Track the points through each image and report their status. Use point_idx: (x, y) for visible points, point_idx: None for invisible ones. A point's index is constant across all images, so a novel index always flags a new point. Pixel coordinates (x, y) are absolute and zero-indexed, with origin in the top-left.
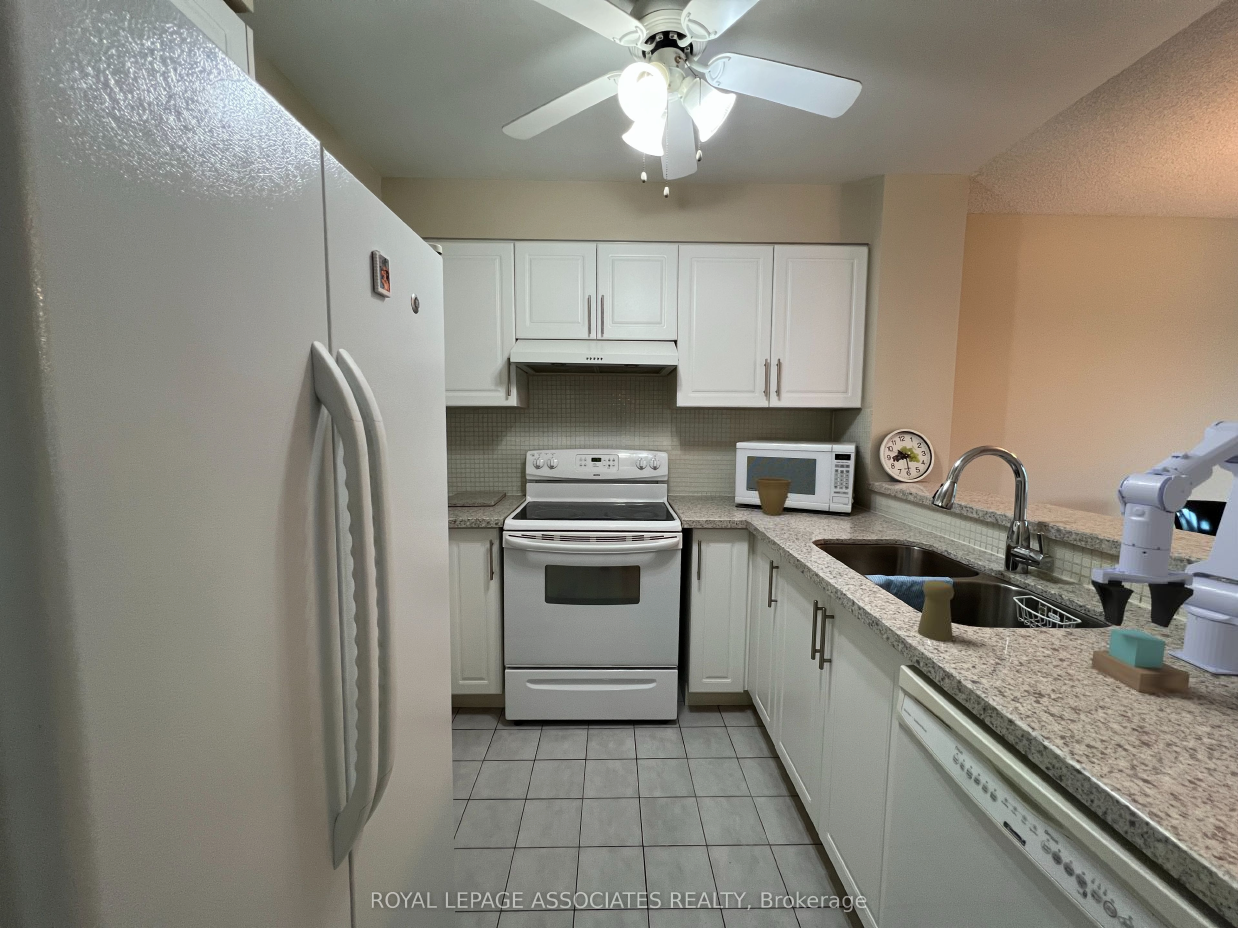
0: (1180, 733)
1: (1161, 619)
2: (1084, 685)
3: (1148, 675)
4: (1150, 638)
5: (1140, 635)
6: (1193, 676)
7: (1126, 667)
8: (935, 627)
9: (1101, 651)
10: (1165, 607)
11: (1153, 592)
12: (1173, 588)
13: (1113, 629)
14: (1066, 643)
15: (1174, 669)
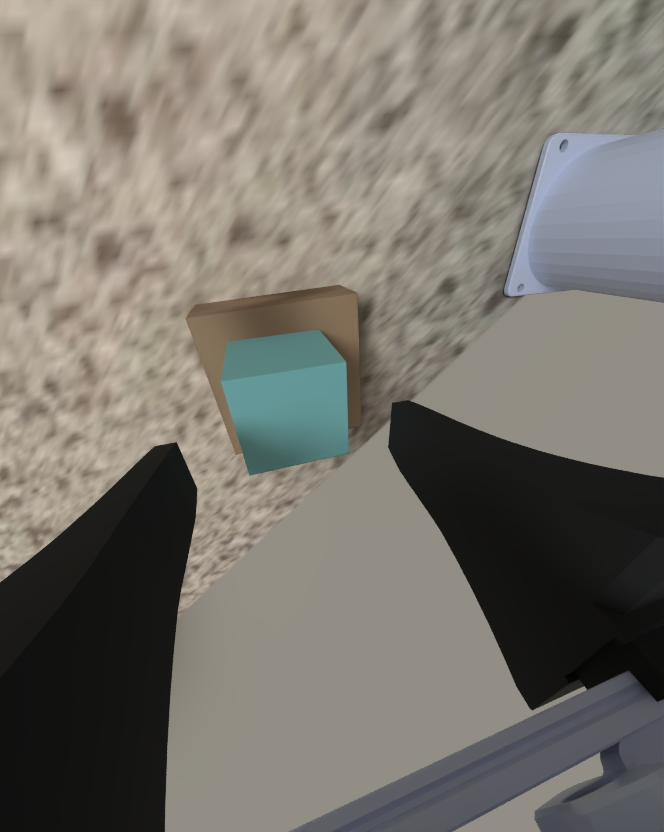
0: (208, 539)
1: (403, 456)
2: (110, 428)
3: None
4: (318, 441)
5: (303, 423)
6: (442, 314)
7: (225, 422)
8: None
9: (214, 322)
10: (444, 508)
11: (523, 508)
12: (543, 681)
13: (229, 382)
14: (221, 14)
15: (348, 408)
